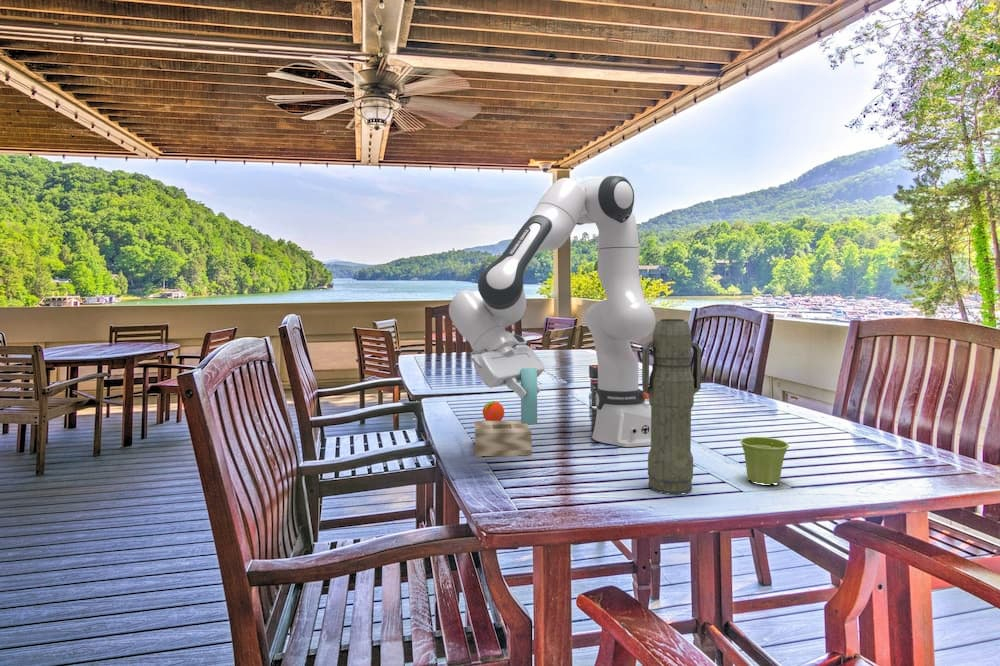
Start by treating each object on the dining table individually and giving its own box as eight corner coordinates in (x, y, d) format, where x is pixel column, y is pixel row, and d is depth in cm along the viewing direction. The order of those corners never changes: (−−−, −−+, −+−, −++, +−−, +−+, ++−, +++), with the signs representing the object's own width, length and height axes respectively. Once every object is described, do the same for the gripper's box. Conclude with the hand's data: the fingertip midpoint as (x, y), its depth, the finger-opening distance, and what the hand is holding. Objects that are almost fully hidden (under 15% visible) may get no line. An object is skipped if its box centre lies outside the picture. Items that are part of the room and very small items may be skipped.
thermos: (708, 492, 114) (710, 319, 112) (654, 497, 112) (655, 320, 110) (685, 479, 123) (687, 318, 121) (634, 482, 120) (636, 319, 118)
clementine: (494, 427, 174) (494, 404, 173) (476, 424, 178) (476, 402, 177) (508, 422, 180) (508, 400, 180) (490, 419, 184) (490, 398, 184)
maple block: (525, 441, 156) (525, 420, 155) (531, 455, 142) (531, 432, 141) (474, 442, 155) (474, 421, 154) (475, 457, 141) (475, 433, 140)
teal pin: (536, 420, 128) (535, 367, 127) (538, 423, 124) (537, 369, 124) (520, 420, 128) (519, 368, 127) (522, 424, 124) (521, 370, 124)
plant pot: (785, 492, 114) (786, 450, 114) (735, 484, 119) (736, 444, 119) (790, 479, 122) (791, 440, 121) (743, 472, 127) (743, 434, 126)
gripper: (475, 342, 121) (512, 391, 116) (527, 336, 137) (562, 379, 132) (459, 361, 124) (495, 410, 118) (512, 353, 140) (546, 396, 135)
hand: (531, 394), depth 125 cm, fingers closed on teal pin, 4 cm apart
